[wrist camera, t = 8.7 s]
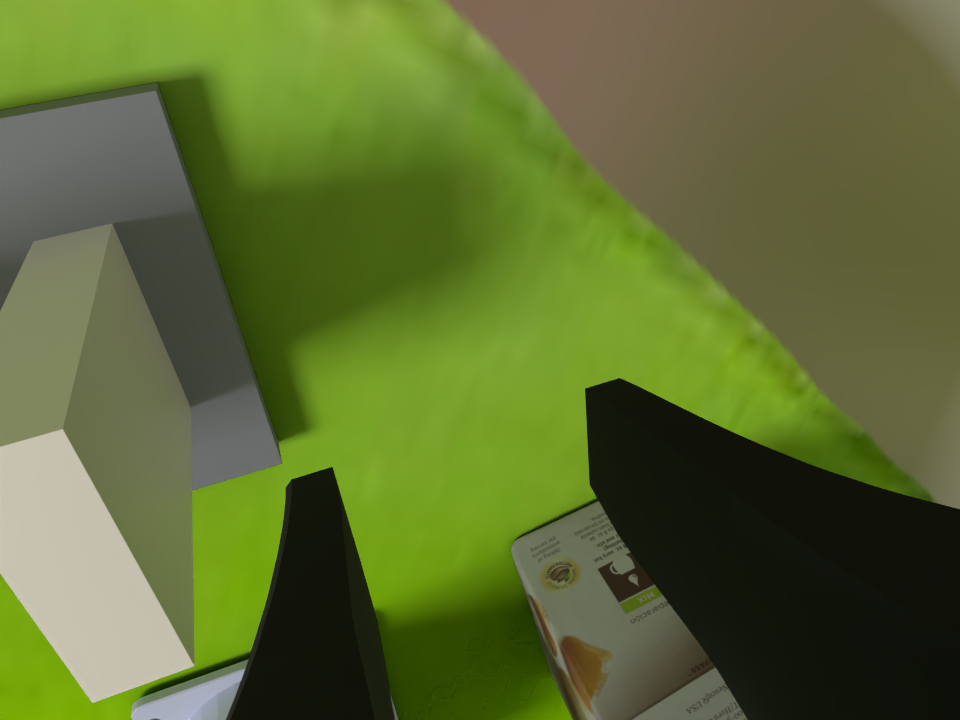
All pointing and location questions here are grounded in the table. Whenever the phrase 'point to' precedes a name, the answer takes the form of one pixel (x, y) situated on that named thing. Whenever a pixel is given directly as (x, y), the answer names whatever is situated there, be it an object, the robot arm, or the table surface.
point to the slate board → (140, 251)
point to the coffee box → (613, 628)
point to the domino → (95, 467)
